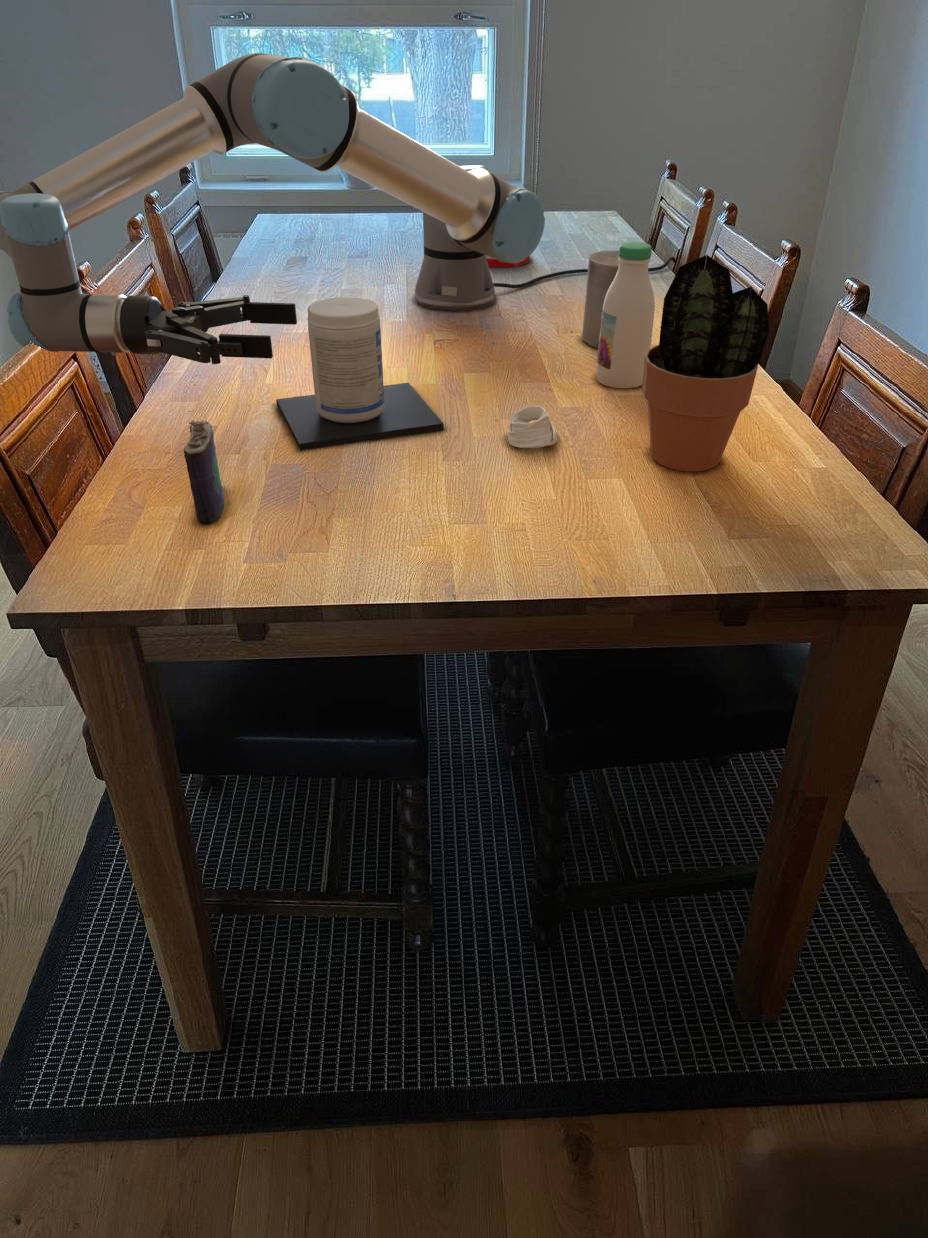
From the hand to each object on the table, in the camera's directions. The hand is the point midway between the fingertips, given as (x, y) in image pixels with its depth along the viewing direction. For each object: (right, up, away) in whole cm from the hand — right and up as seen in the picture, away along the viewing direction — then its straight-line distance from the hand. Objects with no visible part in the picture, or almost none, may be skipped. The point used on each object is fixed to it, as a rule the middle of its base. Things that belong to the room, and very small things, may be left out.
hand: (284, 329), depth 122 cm
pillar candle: (+49, +9, +34) cm, 61 cm away
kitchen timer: (+31, +40, +78) cm, 93 cm away
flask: (-6, -26, -14) cm, 30 cm away
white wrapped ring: (+33, -15, +1) cm, 36 cm away
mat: (+9, -10, +7) cm, 15 cm away
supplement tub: (+8, -10, +6) cm, 14 cm away
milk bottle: (+48, -2, +19) cm, 52 cm away
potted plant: (+53, -18, -3) cm, 56 cm away
